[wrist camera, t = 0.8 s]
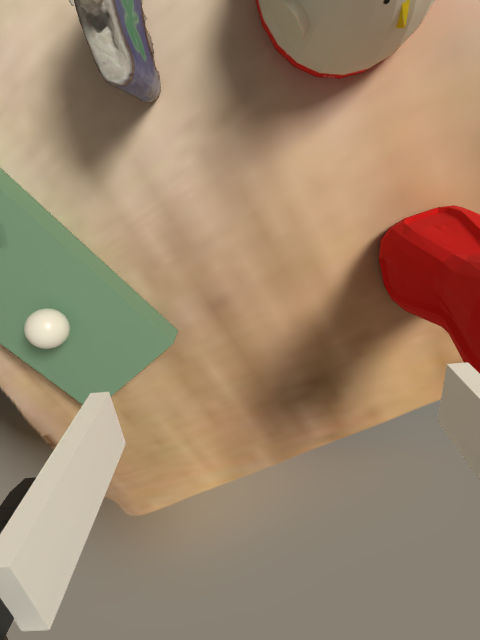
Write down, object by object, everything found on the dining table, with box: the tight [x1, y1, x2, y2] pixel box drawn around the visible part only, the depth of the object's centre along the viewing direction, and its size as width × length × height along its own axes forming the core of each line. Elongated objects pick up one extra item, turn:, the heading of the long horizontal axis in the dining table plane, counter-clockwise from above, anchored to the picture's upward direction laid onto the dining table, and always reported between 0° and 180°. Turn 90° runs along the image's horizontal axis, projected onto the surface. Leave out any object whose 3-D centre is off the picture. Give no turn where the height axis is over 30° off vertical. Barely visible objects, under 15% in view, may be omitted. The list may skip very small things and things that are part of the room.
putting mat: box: [0, 168, 178, 405], centre depth 37 cm, size 28×14×3 cm, turn 42°
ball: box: [24, 308, 70, 349], centre depth 35 cm, size 4×4×4 cm
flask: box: [69, 0, 161, 102], centre depth 24 cm, size 9×3×11 cm, turn 8°
